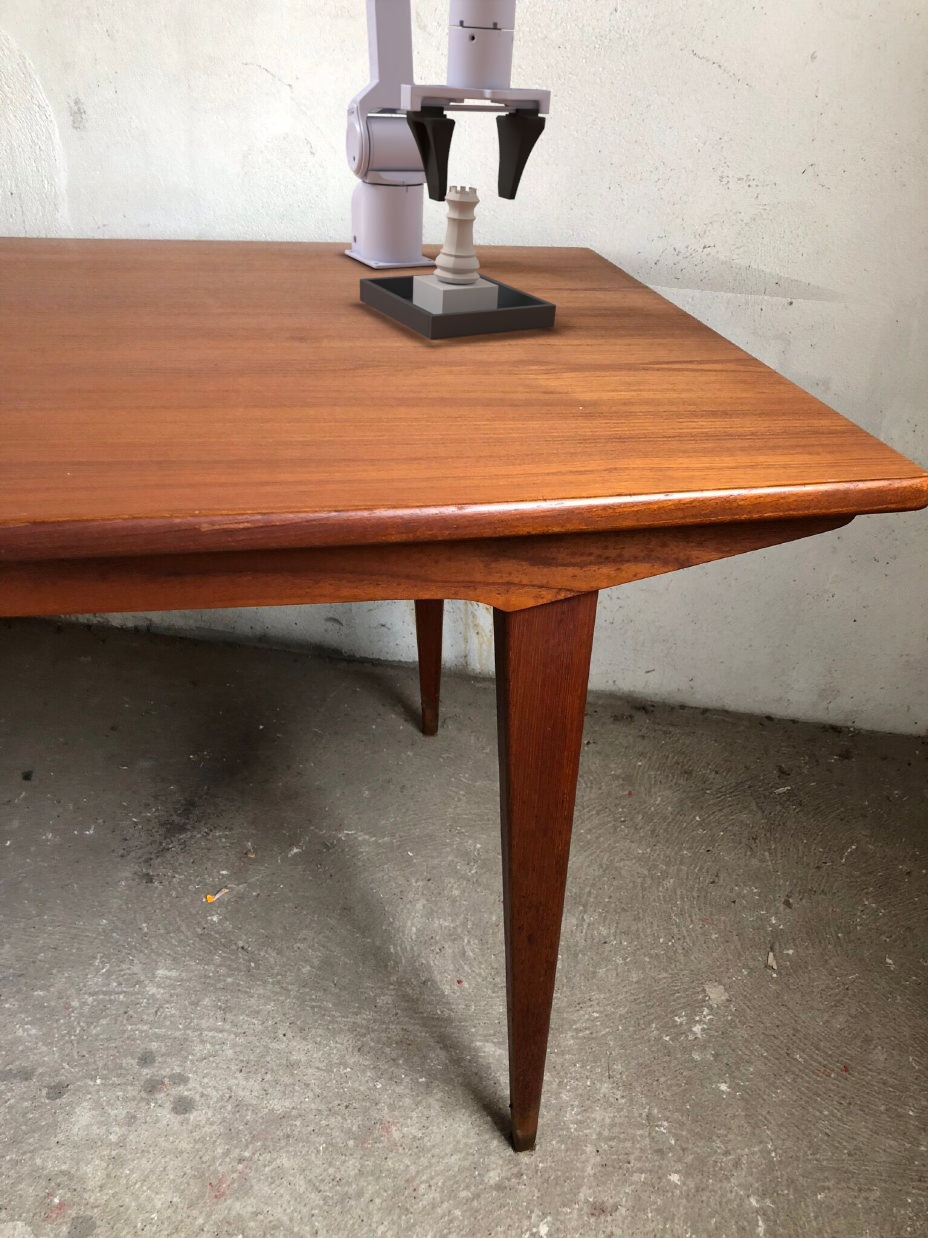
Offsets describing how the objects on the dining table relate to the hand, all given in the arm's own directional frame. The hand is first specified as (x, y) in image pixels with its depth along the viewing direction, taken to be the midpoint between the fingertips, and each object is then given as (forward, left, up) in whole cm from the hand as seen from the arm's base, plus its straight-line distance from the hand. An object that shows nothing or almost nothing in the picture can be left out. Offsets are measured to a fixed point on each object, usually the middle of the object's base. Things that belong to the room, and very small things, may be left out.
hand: (472, 198), depth 86 cm
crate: (+3, -3, -10) cm, 11 cm away
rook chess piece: (+3, -3, -7) cm, 8 cm away
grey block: (+3, -3, -10) cm, 11 cm away
